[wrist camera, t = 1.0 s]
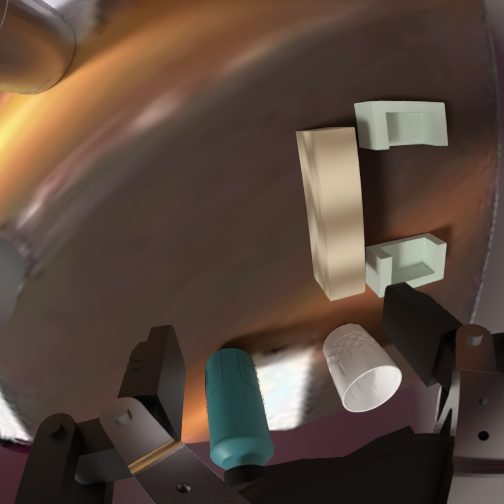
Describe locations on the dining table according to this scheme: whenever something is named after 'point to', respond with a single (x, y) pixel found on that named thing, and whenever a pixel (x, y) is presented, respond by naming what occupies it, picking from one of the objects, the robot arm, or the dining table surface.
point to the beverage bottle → (236, 417)
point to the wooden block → (334, 208)
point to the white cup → (360, 368)
